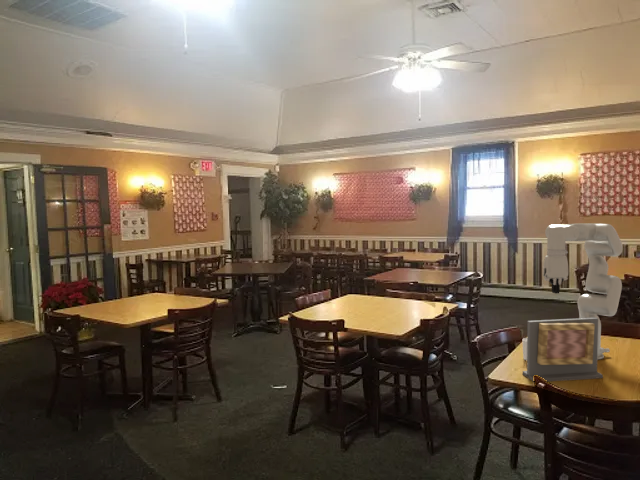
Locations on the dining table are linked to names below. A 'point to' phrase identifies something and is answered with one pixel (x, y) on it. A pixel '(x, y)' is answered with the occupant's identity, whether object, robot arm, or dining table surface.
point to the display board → (566, 369)
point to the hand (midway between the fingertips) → (555, 292)
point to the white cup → (524, 348)
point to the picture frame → (565, 343)
